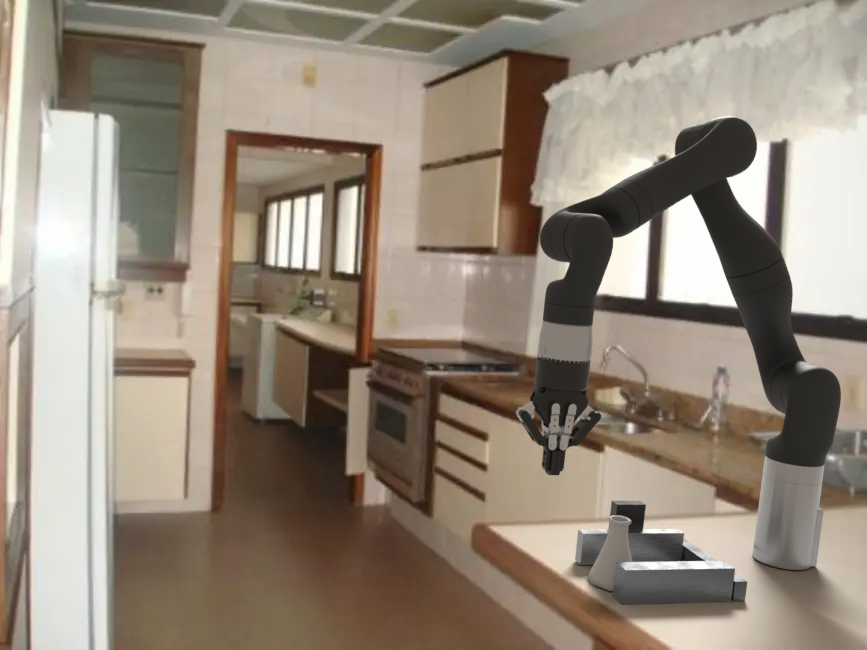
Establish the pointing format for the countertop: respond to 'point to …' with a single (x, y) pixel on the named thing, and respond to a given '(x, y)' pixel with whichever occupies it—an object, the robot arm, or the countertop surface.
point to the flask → (611, 553)
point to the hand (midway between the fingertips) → (551, 473)
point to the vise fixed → (678, 580)
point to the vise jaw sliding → (632, 538)
